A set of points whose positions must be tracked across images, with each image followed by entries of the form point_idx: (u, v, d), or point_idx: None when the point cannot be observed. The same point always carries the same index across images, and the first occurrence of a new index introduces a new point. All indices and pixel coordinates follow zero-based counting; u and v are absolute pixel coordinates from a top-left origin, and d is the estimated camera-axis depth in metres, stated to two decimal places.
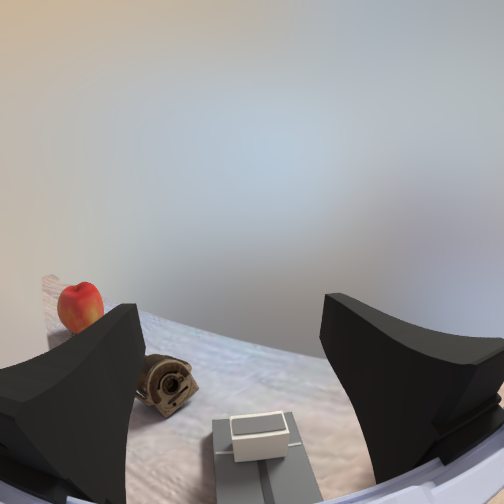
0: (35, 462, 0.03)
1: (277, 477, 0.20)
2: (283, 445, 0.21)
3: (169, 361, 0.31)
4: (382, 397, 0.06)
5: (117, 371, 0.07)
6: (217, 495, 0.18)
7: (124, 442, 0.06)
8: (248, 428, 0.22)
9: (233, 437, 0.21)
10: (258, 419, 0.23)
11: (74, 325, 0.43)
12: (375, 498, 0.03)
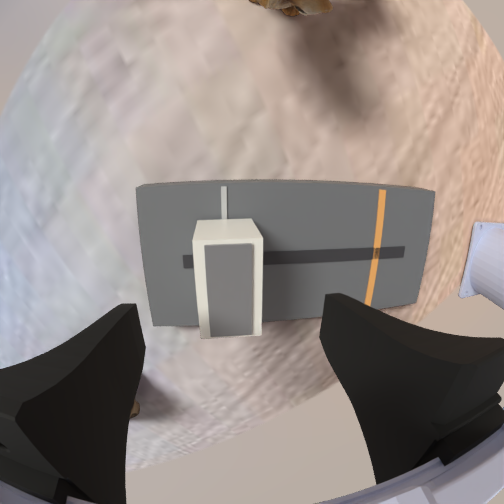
0: (35, 462, 0.03)
1: (289, 239, 0.17)
2: None
3: None
4: (382, 397, 0.06)
5: (117, 371, 0.07)
6: (306, 317, 0.19)
7: (124, 442, 0.06)
8: (236, 309, 0.13)
9: (256, 333, 0.14)
10: (214, 292, 0.13)
11: None
12: (375, 498, 0.03)
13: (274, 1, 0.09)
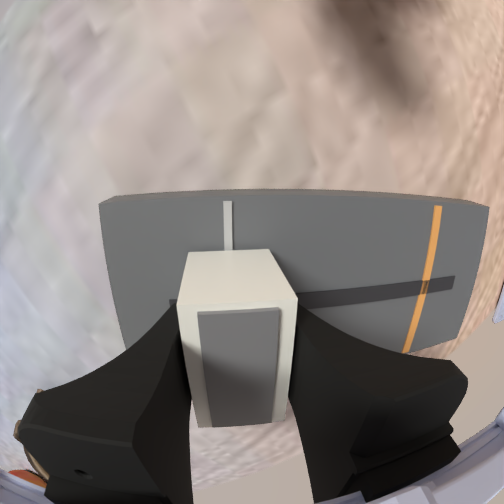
0: (130, 485, 0.03)
1: (320, 275, 0.12)
2: None
3: (46, 476, 0.09)
4: (313, 414, 0.06)
5: (182, 373, 0.07)
6: None
7: (188, 446, 0.07)
8: (249, 396, 0.08)
9: (277, 419, 0.09)
10: (215, 377, 0.08)
11: None
12: (375, 498, 0.03)
13: None
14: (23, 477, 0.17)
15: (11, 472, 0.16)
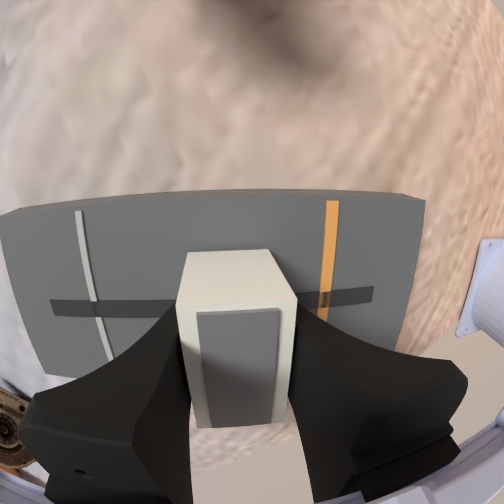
0: (130, 485, 0.03)
1: (176, 283, 0.11)
2: None
3: None
4: (313, 413, 0.06)
5: (182, 373, 0.07)
6: None
7: (188, 446, 0.07)
8: (249, 397, 0.08)
9: (277, 419, 0.09)
10: (215, 377, 0.08)
11: None
12: (375, 498, 0.03)
13: None
14: None
15: None
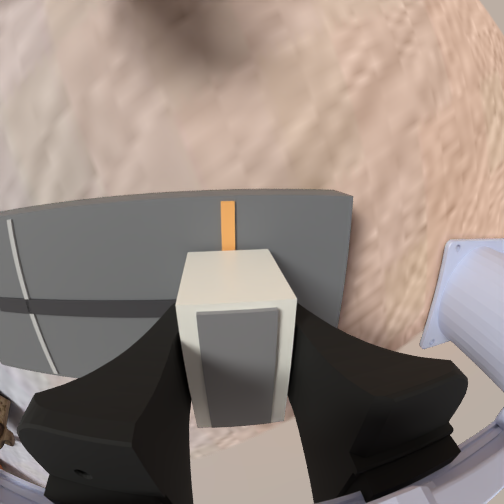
0: (130, 485, 0.03)
1: (86, 284, 0.11)
2: None
3: None
4: (313, 414, 0.06)
5: (182, 373, 0.07)
6: None
7: (188, 446, 0.07)
8: (248, 396, 0.08)
9: (276, 419, 0.09)
10: (215, 377, 0.08)
11: None
12: (375, 498, 0.03)
13: None
14: None
15: None
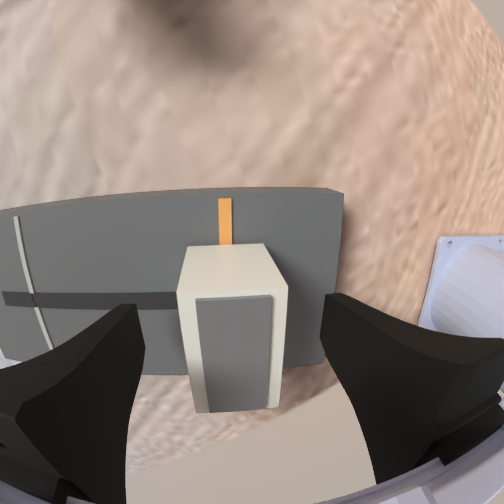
0: (35, 462, 0.03)
1: (90, 278, 0.11)
2: None
3: None
4: (382, 397, 0.06)
5: (117, 371, 0.07)
6: (142, 373, 0.13)
7: (124, 442, 0.06)
8: (244, 381, 0.09)
9: (271, 405, 0.09)
10: (212, 362, 0.08)
11: None
12: (375, 498, 0.03)
13: None
14: None
15: None
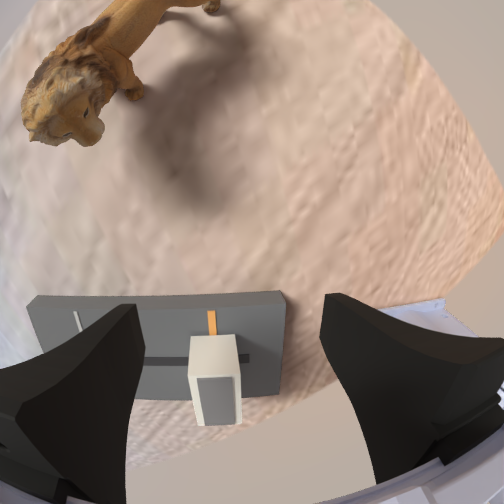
0: (35, 462, 0.03)
1: None
2: None
3: None
4: (382, 397, 0.06)
5: (117, 371, 0.07)
6: (163, 399, 0.21)
7: (124, 442, 0.06)
8: (222, 411, 0.16)
9: (238, 422, 0.17)
10: (205, 402, 0.16)
11: None
12: (375, 498, 0.03)
13: (58, 141, 0.10)
14: None
15: None
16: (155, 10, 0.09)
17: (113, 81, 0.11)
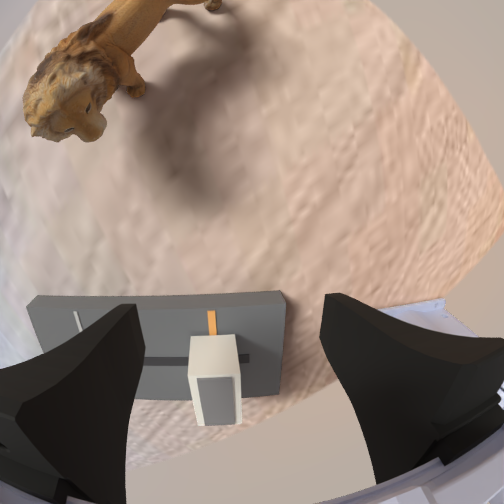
0: (35, 462, 0.03)
1: None
2: None
3: None
4: (382, 397, 0.06)
5: (117, 371, 0.07)
6: (163, 399, 0.21)
7: (124, 442, 0.06)
8: (222, 411, 0.16)
9: (238, 422, 0.17)
10: (205, 402, 0.16)
11: None
12: (375, 498, 0.03)
13: (60, 137, 0.10)
14: None
15: None
16: (157, 7, 0.09)
17: (116, 78, 0.11)
